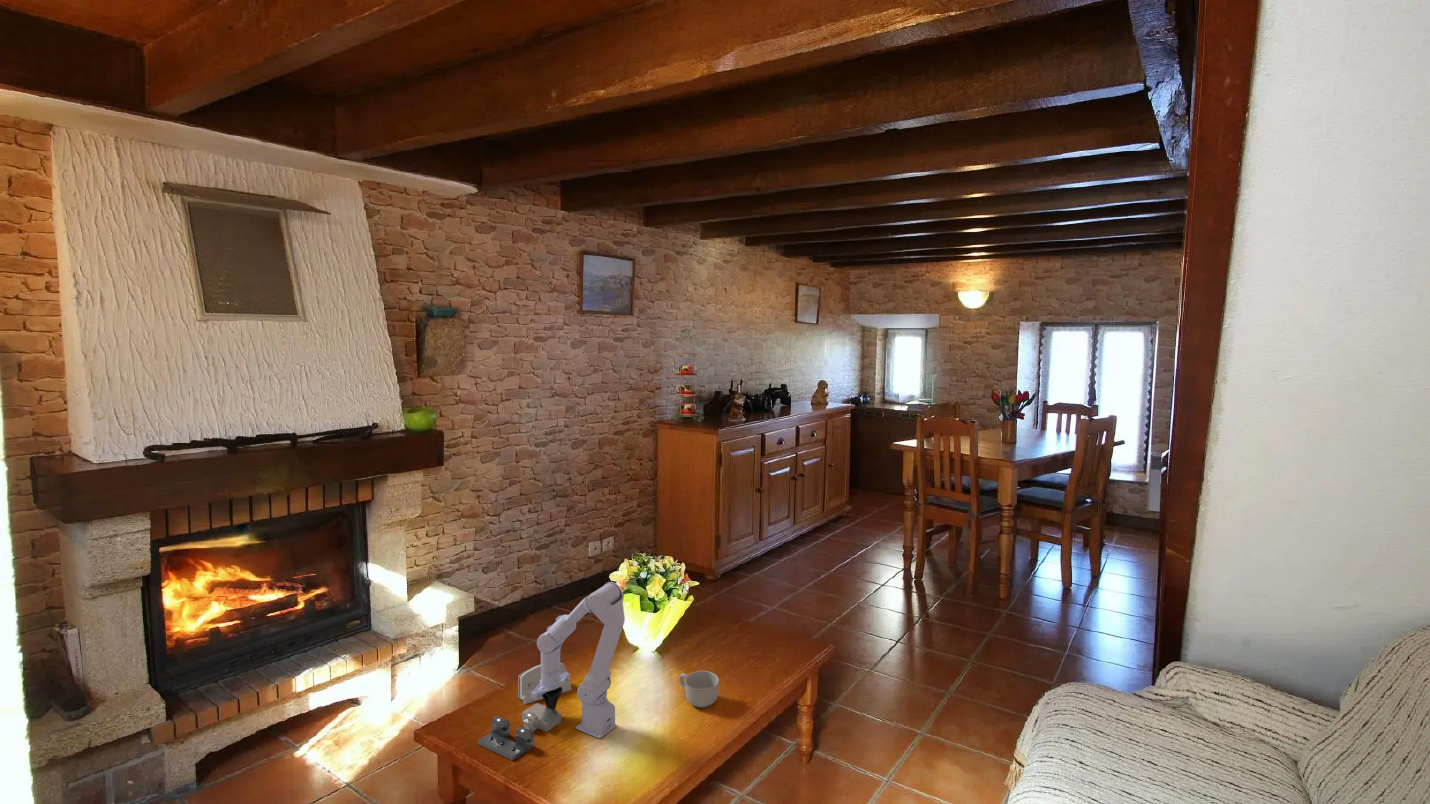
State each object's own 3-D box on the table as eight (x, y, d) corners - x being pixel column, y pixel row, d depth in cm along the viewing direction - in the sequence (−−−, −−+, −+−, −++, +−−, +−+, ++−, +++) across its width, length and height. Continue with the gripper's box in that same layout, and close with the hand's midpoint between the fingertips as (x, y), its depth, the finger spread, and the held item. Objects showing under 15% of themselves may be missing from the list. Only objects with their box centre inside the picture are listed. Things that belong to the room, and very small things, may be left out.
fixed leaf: (534, 746, 199) (534, 729, 199) (512, 760, 193) (512, 743, 192) (499, 730, 207) (499, 713, 206) (477, 743, 200) (477, 727, 199)
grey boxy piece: (561, 722, 211) (560, 707, 211) (538, 736, 204) (538, 722, 203) (537, 711, 217) (537, 697, 216) (514, 725, 209) (514, 711, 208)
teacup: (725, 702, 224) (725, 678, 223) (701, 716, 216) (702, 691, 215) (694, 686, 233) (694, 663, 232) (670, 698, 225) (670, 675, 224)
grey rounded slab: (522, 704, 220) (518, 671, 222) (518, 703, 224) (514, 670, 226) (572, 689, 230) (568, 658, 231) (567, 688, 234) (563, 657, 235)
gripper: (558, 655, 221) (558, 696, 223) (523, 675, 209) (523, 718, 211) (574, 661, 218) (575, 703, 219) (540, 682, 205) (540, 725, 207)
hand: (551, 710), depth 215 cm, fingers closed
